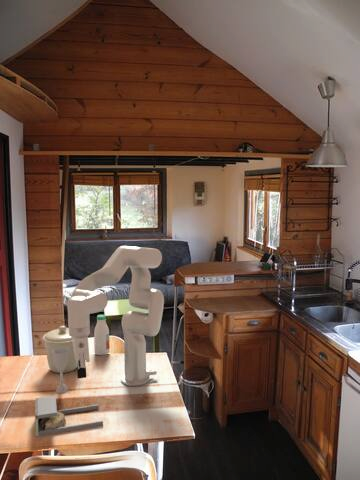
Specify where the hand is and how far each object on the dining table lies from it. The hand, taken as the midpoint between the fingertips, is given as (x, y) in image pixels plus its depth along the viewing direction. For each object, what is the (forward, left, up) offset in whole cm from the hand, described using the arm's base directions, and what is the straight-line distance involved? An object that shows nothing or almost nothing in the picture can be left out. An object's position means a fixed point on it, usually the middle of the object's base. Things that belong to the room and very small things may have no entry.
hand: (81, 377), depth 161 cm
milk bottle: (-16, -62, -17) cm, 66 cm away
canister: (+4, -48, -17) cm, 51 cm away
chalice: (+6, -26, -17) cm, 31 cm away
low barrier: (+5, 0, -16) cm, 17 cm away
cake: (+11, +1, -17) cm, 20 cm away
